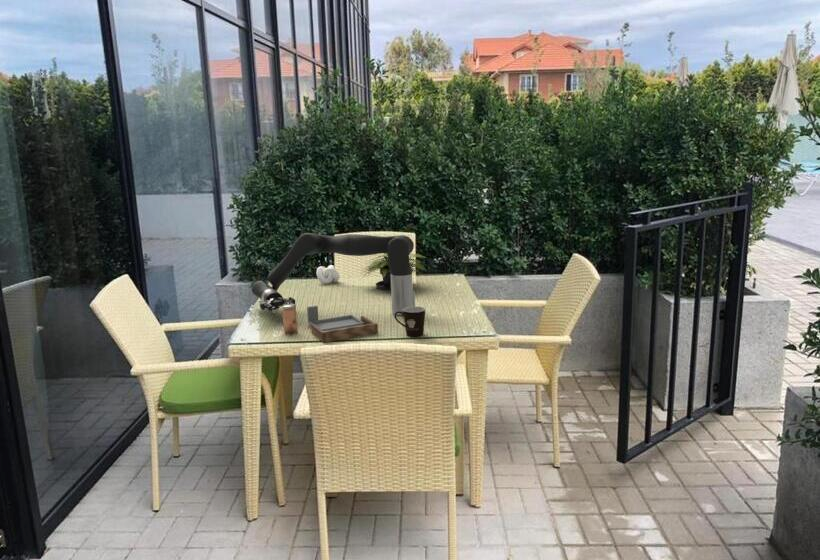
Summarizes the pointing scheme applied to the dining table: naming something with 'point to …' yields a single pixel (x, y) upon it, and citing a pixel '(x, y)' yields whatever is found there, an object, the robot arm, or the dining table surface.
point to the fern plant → (388, 270)
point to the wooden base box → (345, 331)
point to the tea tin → (289, 318)
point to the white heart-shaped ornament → (327, 274)
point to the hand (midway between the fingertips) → (281, 307)
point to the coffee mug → (413, 321)
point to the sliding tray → (331, 320)
